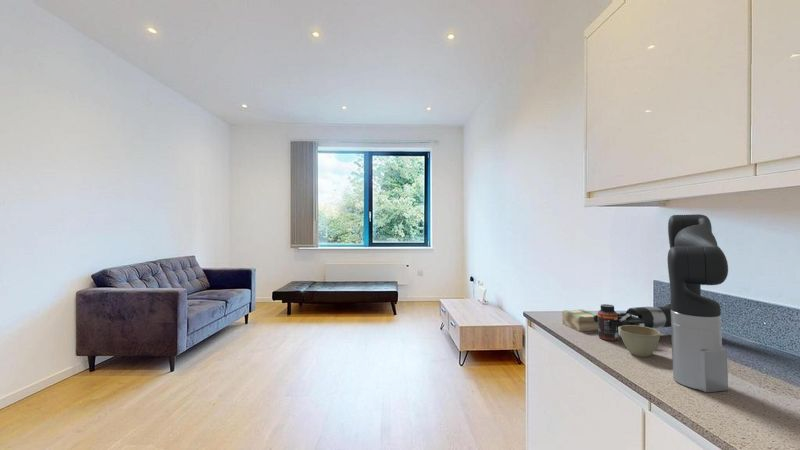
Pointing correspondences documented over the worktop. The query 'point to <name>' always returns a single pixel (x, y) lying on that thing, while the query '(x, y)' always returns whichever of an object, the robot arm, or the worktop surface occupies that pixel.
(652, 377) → the worktop surface
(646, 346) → the beige round bowl
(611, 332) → the supplement bottle
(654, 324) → the robot arm
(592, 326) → the step
